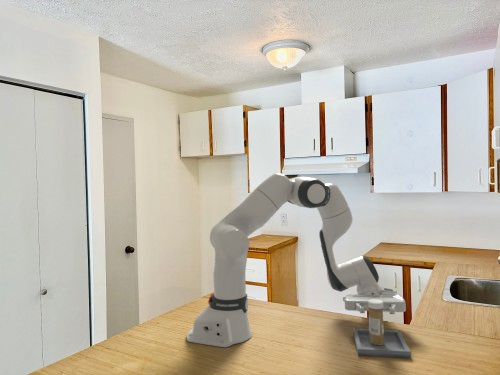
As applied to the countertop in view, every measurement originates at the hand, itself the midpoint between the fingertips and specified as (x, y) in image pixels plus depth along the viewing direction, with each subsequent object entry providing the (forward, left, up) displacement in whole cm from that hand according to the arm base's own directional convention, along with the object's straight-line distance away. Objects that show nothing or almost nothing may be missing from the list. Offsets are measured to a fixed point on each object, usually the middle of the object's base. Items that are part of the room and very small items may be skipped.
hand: (377, 311), depth 122 cm
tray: (0, -5, -9) cm, 10 cm away
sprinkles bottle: (-1, -5, -9) cm, 10 cm away
